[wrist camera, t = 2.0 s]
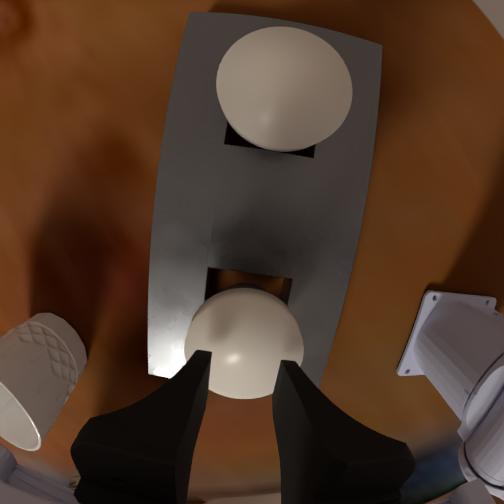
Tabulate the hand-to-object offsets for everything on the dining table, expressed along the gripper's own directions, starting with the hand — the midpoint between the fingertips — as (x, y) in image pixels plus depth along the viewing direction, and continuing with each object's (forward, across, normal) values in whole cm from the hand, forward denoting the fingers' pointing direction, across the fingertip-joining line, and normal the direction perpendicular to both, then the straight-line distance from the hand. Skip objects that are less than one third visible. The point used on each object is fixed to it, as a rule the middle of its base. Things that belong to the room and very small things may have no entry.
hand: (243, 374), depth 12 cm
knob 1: (+7, 0, -12) cm, 14 cm away
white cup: (+10, +16, +8) cm, 20 cm away
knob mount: (+9, 0, -6) cm, 11 cm away
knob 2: (+7, 0, 0) cm, 7 cm away
